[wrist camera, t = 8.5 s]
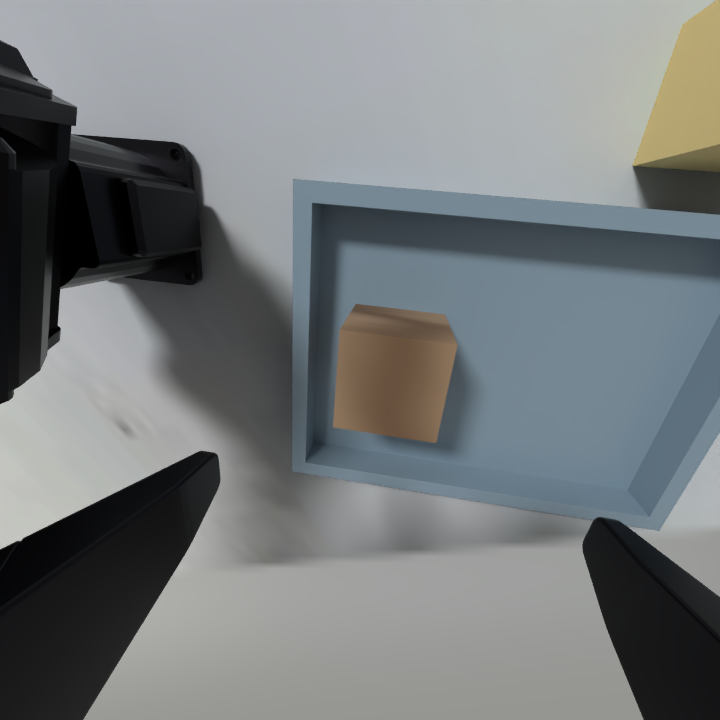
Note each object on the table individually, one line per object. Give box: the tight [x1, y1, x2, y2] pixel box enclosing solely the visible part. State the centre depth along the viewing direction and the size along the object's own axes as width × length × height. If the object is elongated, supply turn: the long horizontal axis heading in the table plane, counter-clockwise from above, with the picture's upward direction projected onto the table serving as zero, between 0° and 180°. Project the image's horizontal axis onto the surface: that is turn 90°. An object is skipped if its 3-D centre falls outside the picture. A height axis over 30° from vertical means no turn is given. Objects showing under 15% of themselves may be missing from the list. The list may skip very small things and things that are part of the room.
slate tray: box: [292, 179, 720, 531], centre depth 17 cm, size 20×15×2 cm
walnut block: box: [333, 304, 458, 443], centre depth 16 cm, size 4×4×4 cm
